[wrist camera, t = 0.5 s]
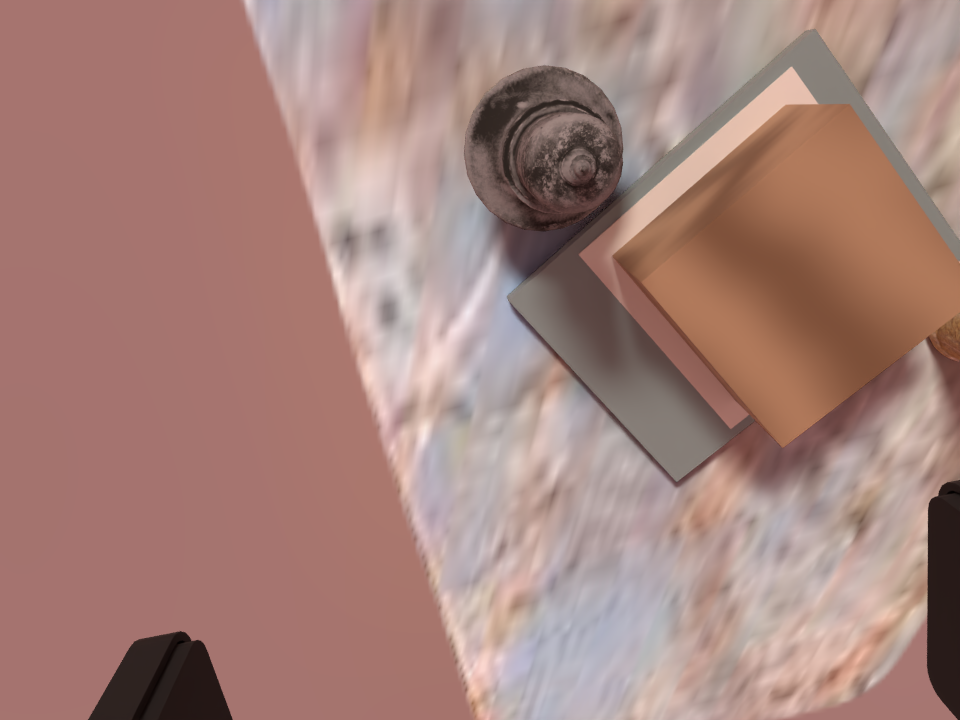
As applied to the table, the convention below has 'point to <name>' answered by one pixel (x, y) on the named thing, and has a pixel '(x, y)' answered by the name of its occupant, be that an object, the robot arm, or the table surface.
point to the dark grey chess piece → (543, 148)
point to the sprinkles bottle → (948, 338)
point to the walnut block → (797, 267)
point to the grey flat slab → (625, 308)
